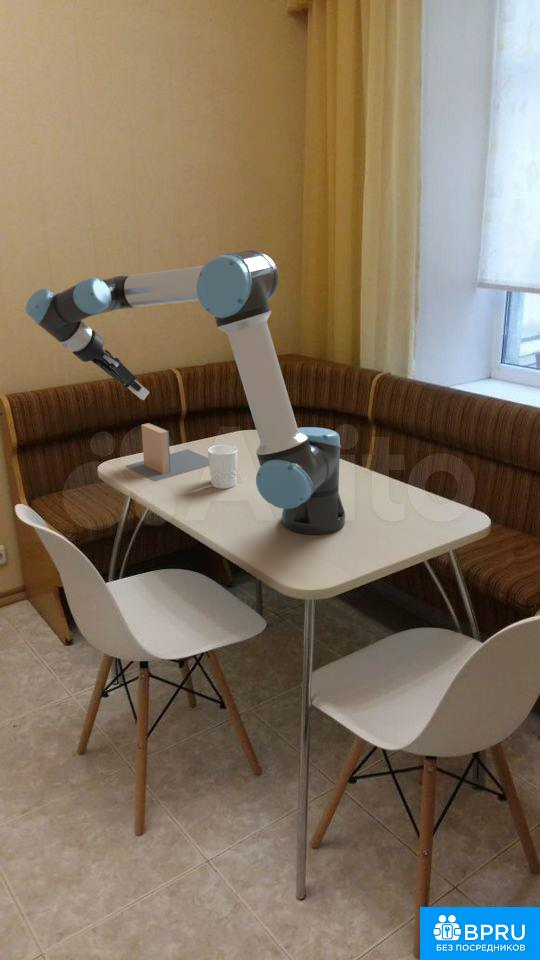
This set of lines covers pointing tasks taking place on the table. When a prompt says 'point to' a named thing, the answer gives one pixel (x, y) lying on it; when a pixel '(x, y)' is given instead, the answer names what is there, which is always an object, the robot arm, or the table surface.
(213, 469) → the white cup
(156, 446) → the tile
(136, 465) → the mat
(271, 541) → the table surface
